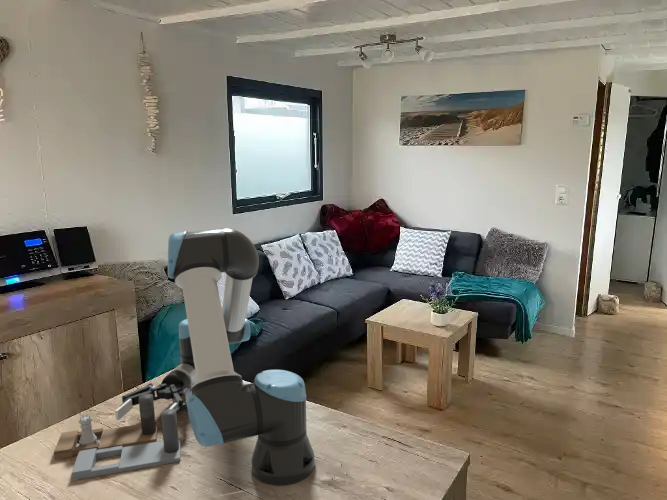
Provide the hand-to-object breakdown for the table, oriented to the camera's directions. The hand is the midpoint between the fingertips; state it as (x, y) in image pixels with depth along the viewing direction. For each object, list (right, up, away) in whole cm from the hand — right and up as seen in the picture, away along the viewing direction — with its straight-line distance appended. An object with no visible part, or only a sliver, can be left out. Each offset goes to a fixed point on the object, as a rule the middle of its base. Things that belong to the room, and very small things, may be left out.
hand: (140, 417), depth 132 cm
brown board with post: (-9, -7, +2) cm, 11 cm away
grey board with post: (0, -8, -6) cm, 10 cm away
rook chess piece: (-14, -7, 0) cm, 16 cm away
